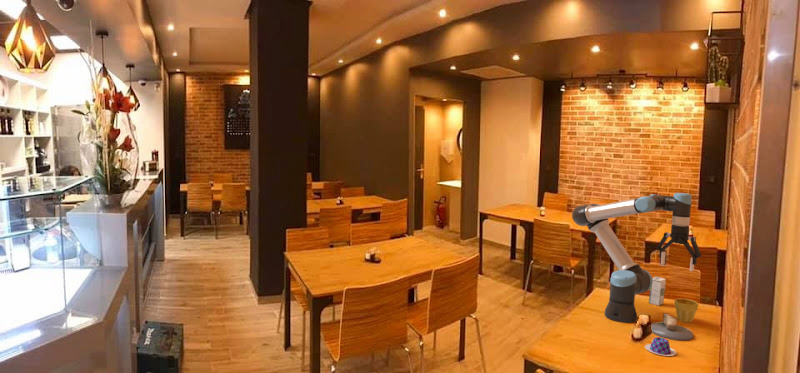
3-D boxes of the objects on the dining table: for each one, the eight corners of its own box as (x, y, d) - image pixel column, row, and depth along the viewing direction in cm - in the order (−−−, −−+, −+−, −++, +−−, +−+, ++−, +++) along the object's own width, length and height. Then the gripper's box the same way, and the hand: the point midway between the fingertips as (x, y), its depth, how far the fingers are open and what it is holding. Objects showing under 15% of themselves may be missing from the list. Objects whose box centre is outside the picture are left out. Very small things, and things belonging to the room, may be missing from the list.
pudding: (644, 343, 218) (645, 332, 217) (675, 349, 212) (676, 337, 212) (644, 353, 207) (645, 341, 207) (676, 359, 202) (677, 347, 201)
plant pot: (676, 322, 243) (678, 303, 243) (670, 315, 253) (671, 297, 253) (699, 325, 241) (701, 306, 240) (692, 317, 251) (694, 299, 250)
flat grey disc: (662, 340, 221) (662, 336, 221) (642, 325, 239) (642, 321, 239) (701, 341, 221) (701, 336, 221) (678, 325, 239) (678, 321, 239)
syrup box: (652, 301, 276) (654, 276, 275) (663, 304, 272) (665, 278, 270) (648, 303, 273) (650, 277, 271) (659, 306, 268) (661, 280, 267)
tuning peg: (677, 330, 228) (678, 320, 227) (668, 329, 228) (669, 319, 228) (669, 323, 237) (669, 313, 237) (660, 322, 238) (661, 312, 237)
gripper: (712, 228, 228) (708, 272, 230) (658, 220, 248) (655, 261, 251) (705, 229, 224) (700, 274, 226) (650, 221, 244) (647, 262, 246)
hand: (676, 267), depth 238 cm, fingers open, 13 cm apart
